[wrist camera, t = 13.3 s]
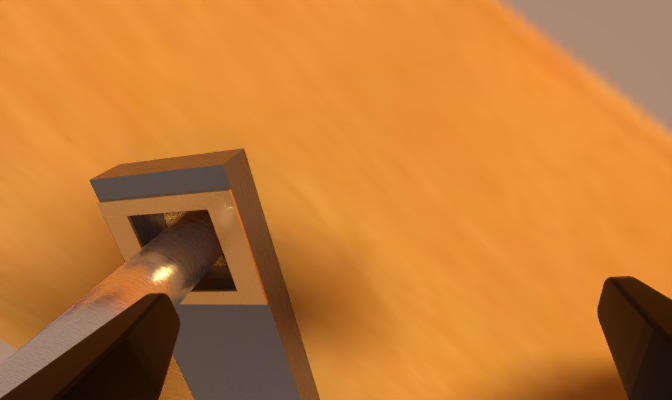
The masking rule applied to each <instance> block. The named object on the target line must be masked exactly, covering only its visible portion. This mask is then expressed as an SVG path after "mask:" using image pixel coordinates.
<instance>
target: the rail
mask: <svg viewBox="0 0 672 400" xmlns="http://www.w3.org/2000/svg"><path fill="white" fill-rule="evenodd" d="M89 181H90V183H91V185H92V187H93V189H94V191H95V193H96V195H97V197H98V199H99V202H98V203H97V204H98V206H99V208H100V210H101V212H102V214H103V216H104V218H105V221H106V223H107V225H108V227H109V229H110V231H111V233H112V235H113V237H114V239H115V241H116V243H117V245H118V247H119V249H120V252H121V254H122V256H123V258H124V260H125V262H126V261H127V260H128V259H129V258H131V257H132V256H133V255H134V254H135V253H137V252H138V251H139V250H140V249H141V248H143V247H144V246H145V245H146V244H147V243H149V242H150V241H151V240H152V239H154V238H155V237H156V236H157V235H158V234H160V233H161V232H162V231H163V230H164V229H166V228H167V227H168V226H167V224H166V221H165V219H164V216H163V214H162V213H169V212H182V211H194V210H207V209H208V212H209V215H210V217H211V220H212V223H213V226H214V228H215V231H216V234H217V237H218V239H219V242H220V245H221V247H222V250H223V253H224V256H225V258H226V261H227V264H228V266H227V267H211V268H210V270H209V271H208V272H207V273H206V274H205V275H204V276H203V278H202V279H201V280H200V281H199V282H198V283H197V285H196V286H195V287H194V288H193V289H192V290H191V291H190V293H189V294H188V295H187V296H186V297H185V298H184V299H183V301H182V302H181V303H180V304H179V305H178V306H177V308H176V311H177V313H178V315H179V318H180V330H179V334H178V337H177V340H176V344H175V347H174V351H173V356H174V358H175V360H176V362H177V364H178V366H179V368H180V370H181V372H182V374H183V376H184V378H185V381H186V383H187V385H188V387H189V389H190V391H191V393H192V395H193V397H194V399H195V400H320V398H319V395H318V392H317V389H316V385H315V382H314V379H313V375H312V372H311V369H310V365H309V362H308V359H307V356H306V352H305V349H304V346H303V342H302V339H301V336H300V332H299V329H298V326H297V323H296V319H295V316H294V313H293V309H292V306H291V303H290V299H289V296H288V293H287V290H286V286H285V283H284V280H283V276H282V273H281V270H280V266H279V263H278V260H277V257H276V253H275V250H274V247H273V243H272V240H271V237H270V233H269V230H268V227H267V224H266V220H265V217H264V214H263V210H262V207H261V204H260V200H259V197H258V194H257V191H256V187H255V184H254V181H253V177H252V174H251V171H250V167H249V164H248V161H247V158H246V154H245V151H244V149H237V150H229V151H221V152H214V153H206V154H198V155H190V156H182V157H175V158H167V159H159V160H151V161H144V162H136V163H128V164H120V165H118V166H116V167H114V168H112V169H110V170H108V171H106V172H104V173H102V174H100V175H98V176H96V177H94V178H92V179H90V180H89Z"/></svg>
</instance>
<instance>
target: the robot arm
mask: <svg viewBox="0 0 672 400" xmlns="http://www.w3.org/2000/svg"><path fill="white" fill-rule="evenodd" d="M597 312H598V319H599V322H600V325H601V327H602V330H603V333H604V335H605V338H606V341H607V343H608V346H609V349H610V351H611V354H612V357H613V360H614V362H615V365H616V368H617V370H618V373H619V376H620V378H621V381H622V384H623V386H624V389H625V391H626V394H627V396H628V399H629V400H672V300H671V299H670V298H668V297H666V296H665V295H663V294H661V293H660V292H658V291H656V290H655V289H653V288H651V287H650V286H648V285H646V284H645V283H643V282H641V281H640V280H638V279H636V278H634V277H630V276H620V277H609V278H607V279H606V280H605V282H604V285H603V289H602V293H601V297H600V300H599V304H598V311H597ZM179 330H180V318H179V315H178V313H177V311H176V309H175V307H174V305H173V303H172V301H171V299H170V297H169V296H168V295H167V294H166V293H150V294H147V295H145V296H143V297H142V298H141V299H139V300H138V301H136V302H135V303H134V304H132V305H131V306H129V307H128V308H127V309H125V310H124V311H122V312H121V313H120V314H118V315H117V316H115V317H114V318H112V319H111V320H110V321H108V322H107V323H105V324H104V325H103V326H101V327H100V328H98V329H97V330H96V331H94V332H93V333H91V334H90V335H88V336H87V337H86V338H84V339H83V340H81V341H80V342H79V343H77V344H76V345H74V346H73V347H72V348H70V349H69V350H67V351H66V352H65V353H63V354H62V355H60V356H59V357H57V358H56V359H55V360H53V361H52V362H50V363H49V364H48V365H46V366H45V367H43V368H42V369H41V370H39V371H38V372H36V373H35V374H34V375H32V376H31V377H29V378H28V379H26V380H25V381H24V382H22V383H21V384H19V385H18V386H17V387H15V388H14V389H12V390H11V391H10V392H8V393H7V394H5V395H4V396H2V397H1V398H0V400H158V399H159V396H160V394H161V391H162V388H163V384H164V381H165V378H166V374H167V371H168V368H169V364H170V361H171V357H172V354H173V351H174V347H175V344H176V340H177V337H178V334H179Z"/></svg>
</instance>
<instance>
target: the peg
mask: <svg viewBox="0 0 672 400" xmlns="http://www.w3.org/2000/svg"><path fill="white" fill-rule="evenodd" d="M222 255H223V250H222V247H221V245H220V242H219V239H218V237H217V234H216V231H215V228H214V226H213V223H212V220H211V217H210V215H209V212H208V209H207V210H194V211H186V212H185V213H184V214H183V215H181V216H180V217H179V218H178V219H177V220H175V221H174V222H173V223H172V224H171V225H169V226H168V227H167V228H166V229H164V230H163V231H162V232H161V233H160V234H158V235H157V236H156V237H155V238H154V239H152V240H151V241H150V242H149V243H147V244H146V245H145V246H144V247H143V248H141V249H140V250H139V251H138V252H137V253H135V254H134V255H133V256H132V257H131V258H129V259H128V260H127V261H126V262H124V263H123V264H122V265H121V266H120V267H118V268H117V269H116V270H115V271H114V272H112V273H111V274H110V275H109V276H108V277H106V278H105V279H104V280H103V281H101V282H100V283H99V284H98V285H97V286H95V287H94V288H93V289H92V290H91V291H89V292H88V293H87V294H86V295H85V296H83V297H82V298H81V299H80V300H78V301H77V302H76V303H75V304H74V305H72V306H71V307H70V308H69V309H68V310H66V311H65V312H64V313H63V314H61V315H60V316H59V317H58V318H57V319H55V320H54V321H53V322H52V323H51V324H49V325H48V326H47V327H46V328H45V329H43V330H42V331H41V332H40V333H38V334H37V335H36V336H35V337H34V338H32V339H31V340H30V341H29V342H28V343H26V344H25V345H24V346H23V347H22V348H20V349H19V350H18V351H17V352H15V353H14V354H13V355H12V356H11V357H9V358H8V359H7V360H6V361H5V362H3V363H2V364H1V365H0V398H1V397H2V396H4V395H5V394H7V393H8V392H10V391H11V390H12V389H14V388H15V387H17V386H18V385H19V384H21V383H22V382H24V381H25V380H26V379H28V378H29V377H31V376H32V375H34V374H35V373H36V372H38V371H39V370H41V369H42V368H43V367H45V366H46V365H48V364H49V363H50V362H52V361H53V360H55V359H56V358H57V357H59V356H60V355H62V354H63V353H65V352H66V351H67V350H69V349H70V348H72V347H73V346H74V345H76V344H77V343H79V342H80V341H81V340H83V339H84V338H86V337H87V336H88V335H90V334H91V333H93V332H94V331H96V330H97V329H98V328H100V327H101V326H103V325H104V324H105V323H107V322H108V321H110V320H111V319H112V318H114V317H115V316H117V315H118V314H120V313H121V312H122V311H124V310H125V309H127V308H128V307H129V306H131V305H132V304H134V303H135V302H136V301H138V300H139V299H141V298H142V297H143V296H145V295H147V294H150V293H166V294H167V295H168V296H169V297H170V299H171V301H172V303H173V305H174V307H175V309H176V308H177V306H178V305H179V304H180V303H181V302H182V301H183V299H184V298H185V297H186V296H187V295H188V294H189V293H190V291H191V290H192V289H193V288H194V287H195V286H196V285H197V283H198V282H199V281H200V280H201V279H202V278H203V276H204V275H205V274H206V273H207V272H208V271H209V270H210V268H211V267H212V266H213V265H214V264H215V263H216V261H217V260H218V259H219V258H220V257H221V256H222Z"/></svg>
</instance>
